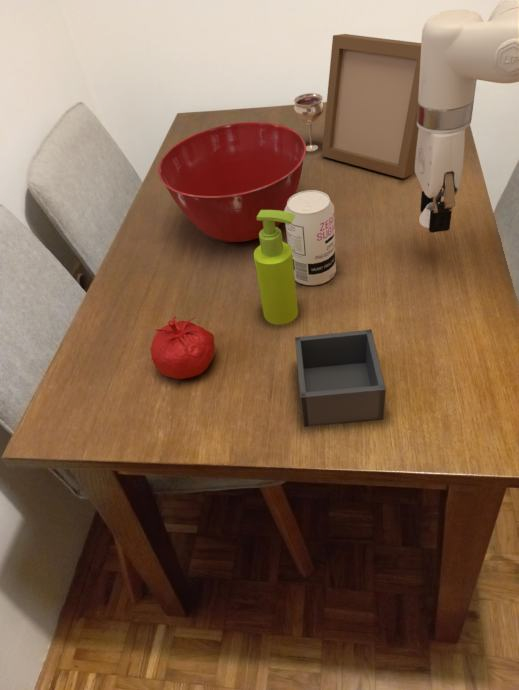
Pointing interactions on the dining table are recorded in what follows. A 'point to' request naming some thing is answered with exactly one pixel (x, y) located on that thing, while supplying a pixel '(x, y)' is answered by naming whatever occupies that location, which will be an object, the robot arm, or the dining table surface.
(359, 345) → the grey open box
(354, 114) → the photo frame
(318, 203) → the supplement can
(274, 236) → the soap dispenser
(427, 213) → the white jar
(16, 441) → the dining table surface
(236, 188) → the mixing bowl
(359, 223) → the dining table surface
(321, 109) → the wineglass
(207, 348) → the red tomato
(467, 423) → the dining table surface
